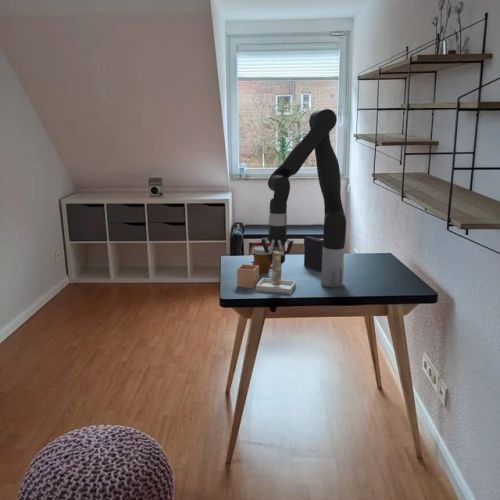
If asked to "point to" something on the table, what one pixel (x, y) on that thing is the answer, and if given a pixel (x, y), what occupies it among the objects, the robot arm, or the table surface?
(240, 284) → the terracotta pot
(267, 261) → the disposable coffee cup
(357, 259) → the table surface
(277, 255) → the maple peg
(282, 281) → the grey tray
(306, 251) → the calculator
